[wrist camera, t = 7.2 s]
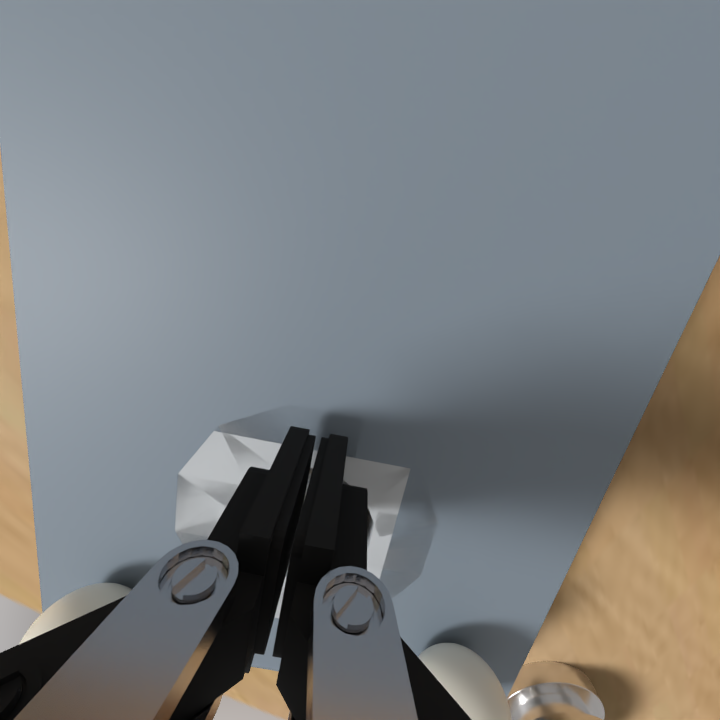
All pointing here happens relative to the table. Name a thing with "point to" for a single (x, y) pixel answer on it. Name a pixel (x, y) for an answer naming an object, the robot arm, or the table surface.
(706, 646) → the table surface
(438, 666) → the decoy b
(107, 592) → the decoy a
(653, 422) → the table surface
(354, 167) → the plate
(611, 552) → the table surface
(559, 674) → the grooved metal pulley
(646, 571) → the table surface
